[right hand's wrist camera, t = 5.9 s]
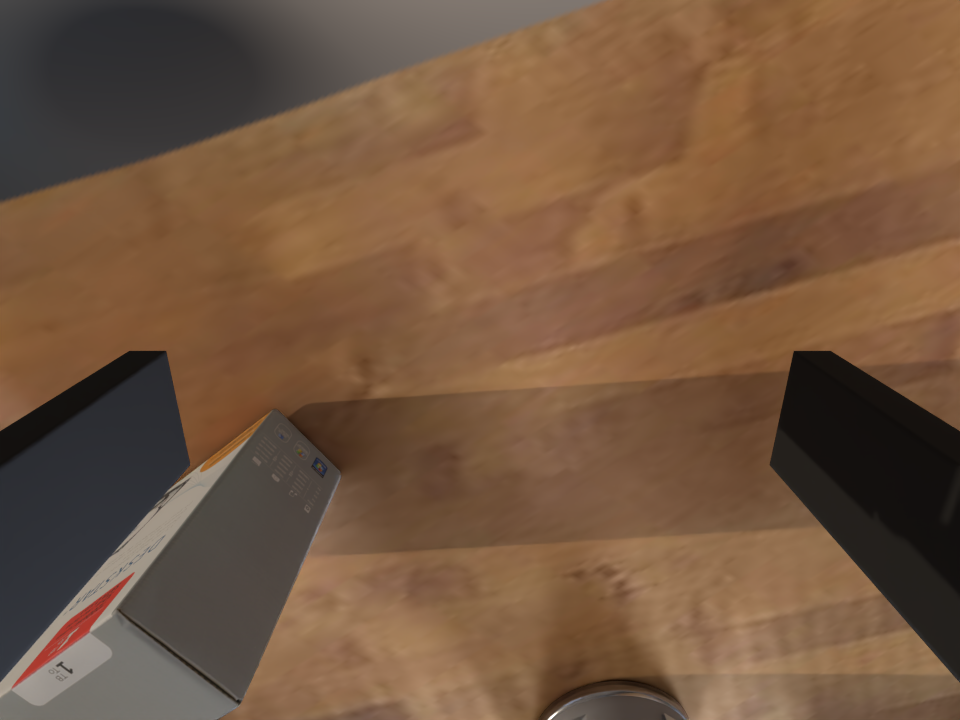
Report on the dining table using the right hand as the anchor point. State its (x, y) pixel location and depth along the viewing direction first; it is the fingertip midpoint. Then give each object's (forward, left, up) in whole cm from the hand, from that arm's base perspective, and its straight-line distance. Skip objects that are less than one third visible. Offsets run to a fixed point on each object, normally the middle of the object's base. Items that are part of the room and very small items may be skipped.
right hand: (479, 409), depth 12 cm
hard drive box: (-21, +19, -28) cm, 40 cm away
